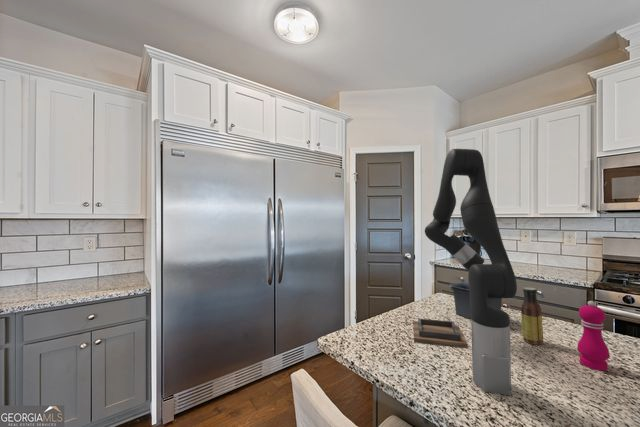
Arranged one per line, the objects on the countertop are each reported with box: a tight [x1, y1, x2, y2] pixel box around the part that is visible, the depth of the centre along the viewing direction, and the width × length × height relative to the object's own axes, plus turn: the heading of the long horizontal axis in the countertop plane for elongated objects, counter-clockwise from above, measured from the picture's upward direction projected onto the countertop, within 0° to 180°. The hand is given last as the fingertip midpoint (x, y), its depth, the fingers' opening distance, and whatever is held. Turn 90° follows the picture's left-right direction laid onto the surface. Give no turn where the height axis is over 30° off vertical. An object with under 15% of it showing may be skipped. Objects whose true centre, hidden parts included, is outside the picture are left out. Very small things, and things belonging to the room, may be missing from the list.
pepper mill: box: [576, 300, 610, 371], centre depth 87 cm, size 7×7×20 cm
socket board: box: [412, 318, 468, 349], centre depth 110 cm, size 18×18×4 cm
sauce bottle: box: [520, 286, 544, 346], centre depth 104 cm, size 7×6×20 cm
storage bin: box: [449, 281, 503, 319], centre depth 129 cm, size 21×16×14 cm
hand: (502, 289), depth 108 cm, fingers open, 8 cm apart
